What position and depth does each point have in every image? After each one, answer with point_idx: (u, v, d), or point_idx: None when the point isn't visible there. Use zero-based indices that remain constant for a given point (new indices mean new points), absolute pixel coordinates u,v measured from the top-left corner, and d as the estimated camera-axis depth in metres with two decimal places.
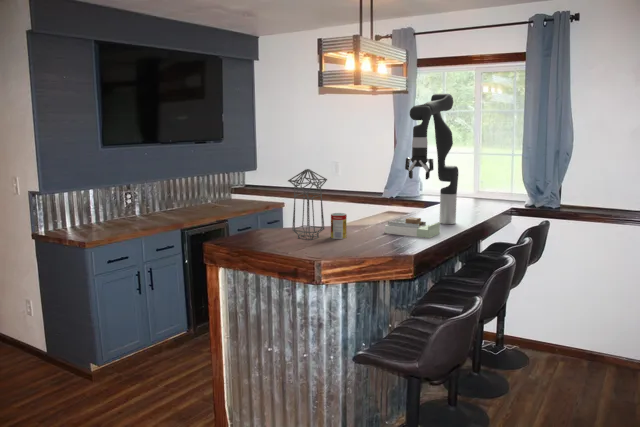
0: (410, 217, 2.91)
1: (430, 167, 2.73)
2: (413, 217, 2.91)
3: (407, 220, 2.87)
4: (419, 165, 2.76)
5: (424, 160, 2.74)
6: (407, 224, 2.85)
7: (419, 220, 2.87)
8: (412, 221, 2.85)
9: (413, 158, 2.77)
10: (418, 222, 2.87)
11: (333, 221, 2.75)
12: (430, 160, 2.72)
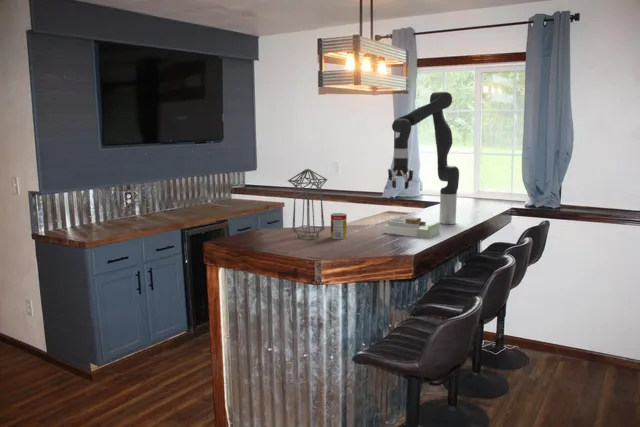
0: (410, 217, 2.91)
1: (409, 177, 2.91)
2: (413, 217, 2.91)
3: (407, 220, 2.87)
4: (400, 174, 2.94)
5: (405, 170, 2.92)
6: (407, 224, 2.85)
7: (419, 220, 2.87)
8: (412, 221, 2.85)
9: (395, 168, 2.95)
10: (418, 222, 2.87)
11: (333, 221, 2.75)
12: (410, 171, 2.90)
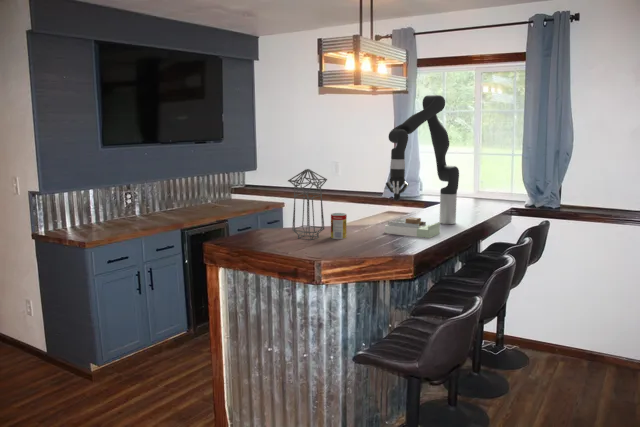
0: (410, 217, 2.91)
1: (401, 190, 2.88)
2: (413, 217, 2.91)
3: (407, 220, 2.87)
4: None
5: (401, 181, 2.87)
6: (407, 224, 2.85)
7: (419, 220, 2.87)
8: (412, 221, 2.85)
9: (391, 179, 2.90)
10: (418, 222, 2.87)
11: (333, 221, 2.75)
12: (405, 185, 2.86)
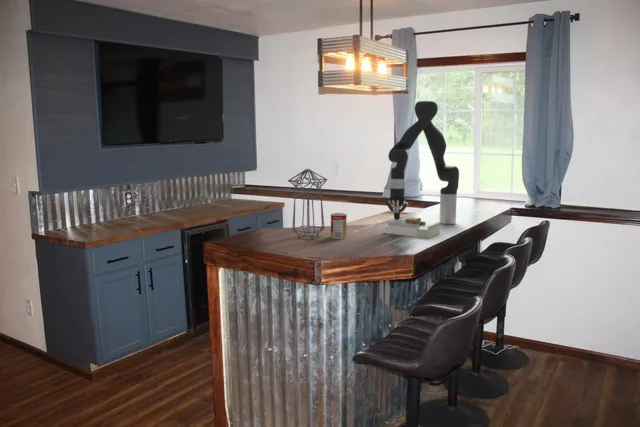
0: (410, 217, 2.91)
1: (401, 209, 2.90)
2: (413, 217, 2.91)
3: (407, 220, 2.87)
4: None
5: (401, 200, 2.89)
6: (407, 224, 2.85)
7: (419, 220, 2.87)
8: (412, 221, 2.85)
9: (391, 198, 2.92)
10: (418, 222, 2.87)
11: (333, 221, 2.75)
12: (405, 204, 2.88)
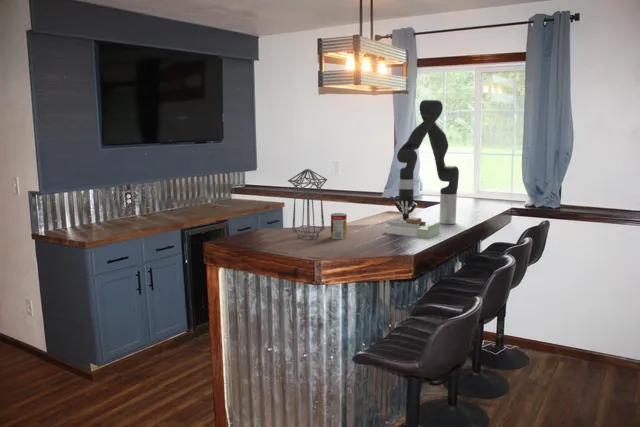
0: (411, 217, 2.91)
1: (410, 210, 2.87)
2: (413, 217, 2.91)
3: (408, 220, 2.86)
4: None
5: (410, 201, 2.86)
6: (407, 224, 2.85)
7: (420, 220, 2.87)
8: (413, 221, 2.85)
9: (400, 199, 2.89)
10: (419, 222, 2.86)
11: (333, 221, 2.75)
12: (414, 205, 2.85)
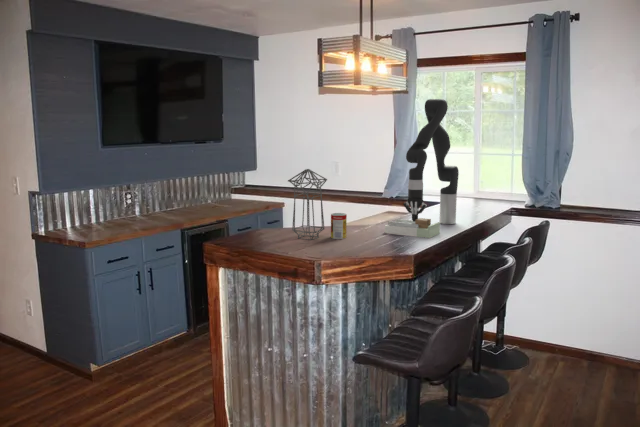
0: (420, 218, 2.88)
1: (419, 211, 2.84)
2: (423, 218, 2.88)
3: (417, 221, 2.84)
4: None
5: (420, 202, 2.83)
6: (407, 224, 2.85)
7: (429, 221, 2.84)
8: (422, 222, 2.82)
9: (409, 199, 2.86)
10: (428, 223, 2.83)
11: (333, 221, 2.75)
12: (424, 206, 2.82)
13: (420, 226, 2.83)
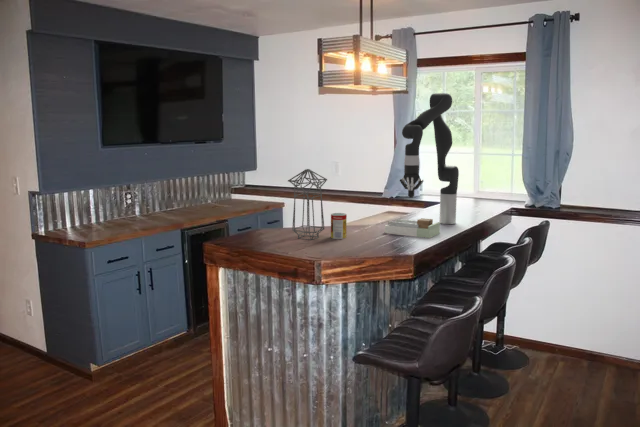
0: (422, 218, 2.87)
1: (416, 186, 2.84)
2: None
3: (419, 221, 2.83)
4: None
5: (416, 177, 2.83)
6: (407, 224, 2.85)
7: (431, 221, 2.84)
8: (424, 222, 2.81)
9: (405, 175, 2.86)
10: (430, 223, 2.83)
11: (333, 221, 2.75)
12: (420, 181, 2.82)
13: (422, 226, 2.82)
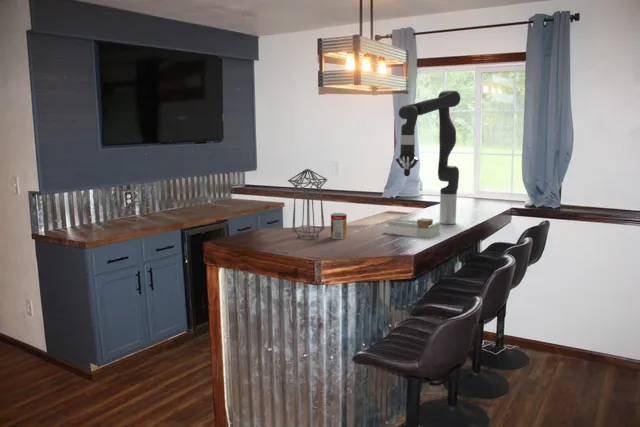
0: (422, 218, 2.87)
1: (411, 165, 2.94)
2: None
3: (419, 221, 2.83)
4: None
5: (411, 156, 2.93)
6: (407, 224, 2.85)
7: (431, 221, 2.84)
8: (424, 222, 2.81)
9: (401, 154, 2.96)
10: (430, 223, 2.83)
11: (333, 221, 2.75)
12: (415, 160, 2.92)
13: (422, 226, 2.82)
